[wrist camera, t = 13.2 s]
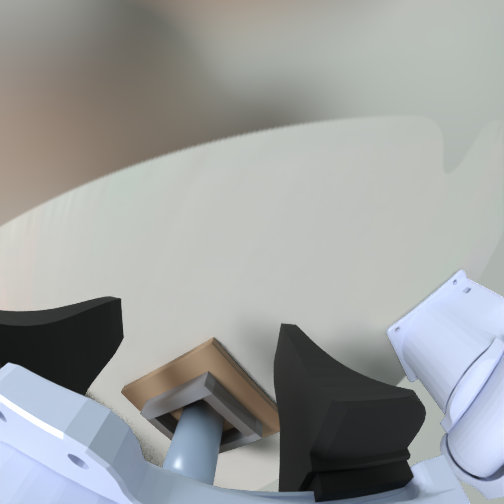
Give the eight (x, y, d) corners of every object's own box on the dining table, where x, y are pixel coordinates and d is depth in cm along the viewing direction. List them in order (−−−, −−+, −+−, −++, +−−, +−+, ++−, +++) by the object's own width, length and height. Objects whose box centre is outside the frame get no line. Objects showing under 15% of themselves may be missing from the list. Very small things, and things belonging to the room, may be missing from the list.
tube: (205, 394, 22) (186, 462, 14) (233, 420, 22) (223, 486, 15) (174, 408, 23) (150, 470, 15) (202, 432, 23) (186, 493, 15)
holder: (213, 337, 22) (207, 357, 19) (290, 419, 24) (292, 440, 21) (124, 386, 23) (112, 404, 20) (199, 452, 25) (195, 471, 22)
